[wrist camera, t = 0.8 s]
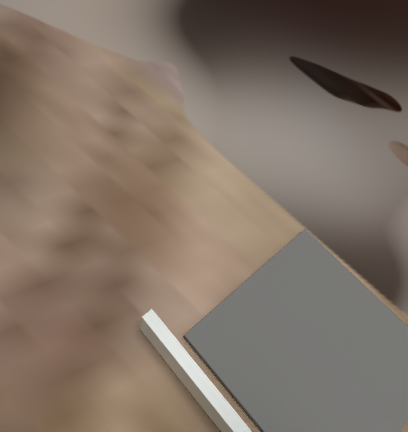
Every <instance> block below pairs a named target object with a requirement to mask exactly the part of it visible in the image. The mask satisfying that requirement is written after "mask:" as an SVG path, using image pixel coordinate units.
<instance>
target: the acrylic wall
mask: <svg viewBox="0 0 408 432" xmlns="http://www.w3.org/2000/svg"><path fill="white" fill-rule="evenodd" d="M140 330H141V331H142V332H143V334H144V335H145V336H146V337H147V339H148V340H149V341H150V342H151V344H152V345H153V346H154V348H155V349H156V350H157V351H158V353H159V354H160V355H161V356H162V358H163V359H164V360H165V362H166V363H167V364H168V365H169V367H170V368H171V369H172V370H173V372H174V373H175V374H176V376H177V377H178V378H179V379H180V381H181V382H182V383H183V384H184V386H185V387H186V388H187V389H188V391H189V392H190V393H191V395H192V396H193V397H194V398H195V400H196V401H197V402H198V403H199V405H200V406H201V407H202V409H203V410H204V411H205V412H206V414H207V415H208V416H209V417H210V419H211V420H212V421H213V423H214V424H215V425H216V426H217V428H218V429H219V430H220V431H221V432H252V431H251V430H250V429H249V427H248V426H247V425H246V424H245V423H244V421H243V420H242V419H241V418H240V416H239V415H238V414H237V413H236V412H235V410H234V409H233V408H232V407H231V405H230V404H229V403H228V402H227V401H226V399H225V398H224V397H223V396H222V394H221V393H220V392H219V391H218V389H217V388H216V387H215V386H214V385H213V383H212V382H211V381H210V380H209V378H208V377H207V376H206V375H205V374H204V372H203V371H202V370H201V369H200V367H199V366H198V365H197V364H196V362H195V361H194V360H193V359H192V358H191V356H190V355H189V354H188V353H187V351H186V350H185V349H184V348H183V347H182V345H181V344H180V343H179V342H178V340H177V339H176V338H175V337H174V335H173V334H172V333H171V332H170V331H169V329H168V328H167V327H166V326H165V324H164V323H163V322H162V321H161V320H160V318H159V317H158V316H157V315H156V313H155V312H154V311H153V310H152V309H151V310H150V311H149V312H148V313H146V314H145V315H144V316H142V319H141V324H140Z"/></svg>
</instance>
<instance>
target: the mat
mask: <svg viewBox="0 0 408 432" xmlns="http://www.w3.org/2000/svg"><path fill="white" fill-rule="evenodd" d="M184 338H185V339H186V341H187V342H188V343H189V344H190V345H191V347H192V348H193V349H194V350H195V351H196V353H197V354H198V355H199V356H200V358H201V359H202V360H203V361H204V362H205V364H206V365H207V366H208V367H209V368H210V370H211V371H212V372H213V373H214V375H215V376H216V377H217V378H218V379H219V381H220V382H221V383H222V384H223V385H224V387H225V388H226V389H227V390H228V392H229V393H230V394H231V395H232V396H233V398H234V399H235V400H236V401H237V402H238V404H239V405H240V406H241V407H242V409H243V410H244V411H245V412H246V413H247V415H248V416H249V417H250V418H251V419H252V421H253V422H254V423H255V424H256V426H257V427H258V428H259V429H260V430H261V432H401V430H402V428H403V427H404V425H405V423H406V421H407V420H408V326H407V325H406V324H405V323H404V322H403V321H402V320H400V319H399V318H398V317H397V316H396V315H395V314H394V313H393V312H392V311H391V310H390V309H389V308H388V307H387V306H386V305H385V304H384V303H383V302H382V301H380V300H379V299H378V298H377V297H376V296H375V295H374V294H373V293H372V292H371V291H370V290H369V289H368V288H367V287H366V286H365V285H364V284H363V283H361V282H360V281H359V280H358V279H357V278H356V277H355V276H354V275H353V274H352V273H351V272H350V271H349V270H348V269H347V268H346V267H345V266H344V265H342V264H341V263H340V262H339V261H338V260H337V259H336V258H335V257H334V256H333V255H332V254H331V253H330V252H329V251H328V250H327V249H326V248H325V247H323V246H322V245H321V244H320V243H319V242H318V241H317V240H316V239H315V238H314V237H313V236H312V235H311V234H310V233H309V232H308V231H307V230H306V229H304V230H303V231H302V232H301V233H300V234H299V235H297V236H296V237H295V238H294V239H293V240H292V241H291V242H289V243H288V244H287V245H286V246H285V247H284V248H283V249H282V250H280V251H279V252H278V253H277V254H276V255H275V256H274V257H272V258H271V259H270V260H269V261H268V262H267V263H266V264H265V265H263V266H262V267H261V268H260V269H259V270H258V271H257V272H255V273H254V274H253V275H252V276H251V277H250V278H249V279H247V280H246V281H245V282H244V283H243V284H242V285H241V286H240V287H238V288H237V289H236V290H235V291H234V292H233V293H232V294H230V295H229V296H228V297H227V298H226V299H225V300H224V301H223V302H221V303H220V304H219V305H218V306H217V307H216V308H215V309H213V310H212V311H211V312H210V313H209V314H208V315H207V316H206V317H204V318H203V319H202V320H201V321H200V322H199V323H198V324H196V325H195V326H194V327H193V328H192V329H191V330H190V331H188V332H187V333H186V334H185V335H184Z"/></svg>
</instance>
